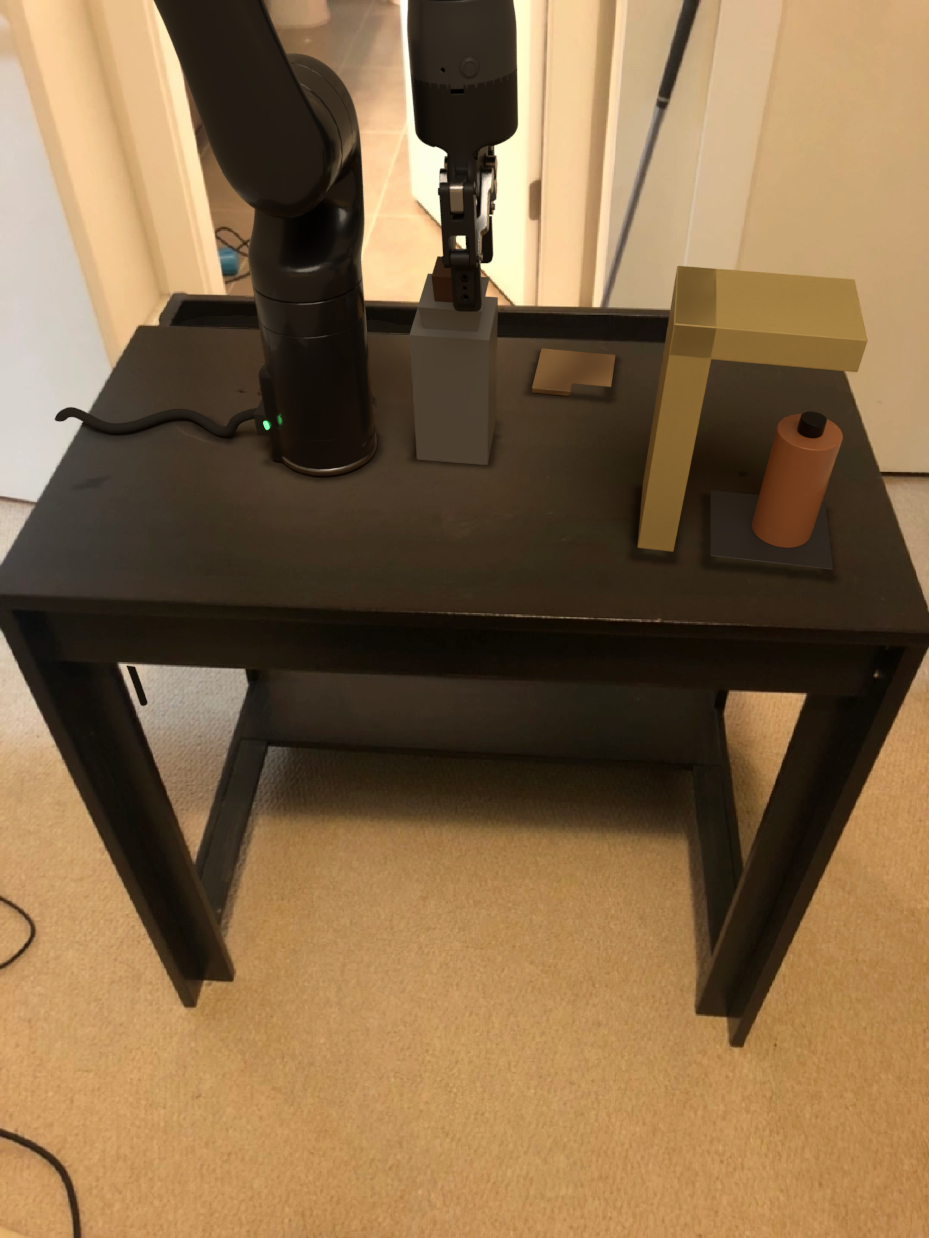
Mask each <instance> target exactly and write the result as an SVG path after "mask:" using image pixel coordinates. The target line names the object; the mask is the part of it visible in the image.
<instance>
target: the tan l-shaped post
mask: <svg viewBox="0 0 929 1238" xmlns="http://www.w3.org/2000/svg"><path fill="white" fill-rule="evenodd" d="M675 271H676V272H675V278H674V284H673V290H672V296H671V303H670V309H669V315H668V320H667V321H668V322H667V329H666V335H665V340H664V347H663V353H662V358H661V359H662V360H661V367H660V373H659V378H658V379H659V380H658V385H657V391H656V396H655V397H656V398H655V404H654V409H653V410H654V411H653V418H652V423H651V428H650V430H651V431H650V436H649V441H648V449H647V456H646V460H645V466H644V467H645V468H644V473H643V474H644V475H643V481H642V489H641V502H640V513H639V524H638V525H639V526H638V538H637V548H639V549H646V550H654V551H655V550H656V551H664V552H674V551H675V546H676V540H677V536H678V532H679V531H678V530H679V527H680V525H679V524H680V520H681V516H682V510H683V505H684V501H685V500H684V499H685V495H686V490H687V484H688V480H689V475H690V470H691V466H692V465H691V464H692V459H693V454H694V450H695V445H696V438H697V435H698V429H699V424H700V419H701V414H702V409H703V403H704V398H705V392H706V389H707V384H708V378H709V373H710V368H711V363H712V361H713V360H714V361H726V362H737V363H748V364H759V365H760V364H761V365H771V366H781V367H794V368H804V369H805V368H806V369H814V370H815V369H817V370H826V371H838V372H849V373H858V372H859V369H860V367H861V363H862V359H863V356H864V354H865V350H866V347H867V344H868V336H867V330H866V326H865V321H864V317H863V313H862V307H861V304H860V297H859V294H858V289H857V285H856V280H855V279H853V278H840V277H829V276H828V277H827V276H815V275H804V274H803V275H802V274H791V273H790V274H788V273H777V272H766V271H765V272H763V271H752V270H751V271H750V270H736V269H725V268H724V269H723V268H711V267H701V266H685V265H677V266H676V270H675ZM709 493H710V495H709V496H710V498H709V499H710V503H709V504H710V505H709V506H710V509H709V512H710V513H709V531H710V532H709V556H711V557H719V558H727V559H736V560H745V561H753V562H761V563H770V564H777V565H778V564H780V565H788V566H789V565H790V566H797V567H805V568H814V569H824V570H831V571H832V570H834V563H833V557H832V549H831V548H832V547H831V540H830V532H829V524H828V516H827V515H828V514H827V509H826V501H822V504H821V507H820V510H819V513H818V516H817V519H816V522H815V525H814V528H813V532H812V535H811V537H810V539H809V540H808V541H807V542H806V543H805V544H803V545H801V546H798V547H793V548H782V547H777V546H773V545H770V544H768V543H766V542H764V541H762V540H761V539H760V538H758V537H757V536H756V534H755V533H754V531H753V529H752V520H753V516H754V513H755V509H756V505H757V501H758V498H759V494H751V493H743V492H734V491H723V490H715V489H711V490H710V492H709Z"/></svg>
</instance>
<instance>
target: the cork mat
mask: <svg viewBox="0 0 929 1238" xmlns="http://www.w3.org/2000/svg"><path fill="white" fill-rule="evenodd" d="M615 362H616V354H610V353H598V352H587V351H577V350H576V351H575V350H565V349H553V348H541V349H540V352H539V357H538V362H537V364H536V368H535V369H536V370H535V374H534V376H533V377H534V378H533V381H532V386H531V393H532V394H543V395H554V396H562V397H563V396H565V397H571V391H572V386H573V384H576V385H587V386H597V387H607V388H612V384H613V377H614V372H615V371H614V370H615Z"/></svg>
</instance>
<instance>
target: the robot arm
mask: <svg viewBox="0 0 929 1238" xmlns="http://www.w3.org/2000/svg"><path fill="white" fill-rule="evenodd" d="M153 3H154V4H155V7H156V10H157V11H158V14H159V15H160V17H161V20H162V22H163V24H164V27H165V29H166V32H167V34H168V36H169V39H170V42H171V43H172V47H173V50H174V53H175V54H176V57H177V60H178V62H179V65H180V67H181V70H182V73H183V76H184V78H185V81H186V84H187V87H188V89H189V92H190V95H191V98H192V100H193V103H194V105H195V109H196V111H197V114H198V117H199V119H200V123H201V125H202V128H203V130H204V132H205V133H204V134H205V136H206V139H207V141H208V143H209V147H210V149H211V151H212V154H213V156H214V159H215V161H216V164H217V165H218V168H219V169H220V172H221V173H222V175H223V177H224V179H225V180H226V182H227V184H229V186H230V187H231V188H232V190H233V191H234V192H235V194H236V195H238V196H239V198H240V199H242V200H243V202H245V203H246V204H247V205H248V206H250V207H251V208H253V210H254V212H253V223H252V229H251V234H250V238H249V244H248V249H247V261H248V269H249V276H250V281H251V286H252V291H253V292H252V293H253V297H254V298H253V299H254V304H255V310H256V316H257V322H258V328H259V335H260V339H261V340H260V341H261V346H262V352H263V353H262V354H263V359H264V361H263V363H262V364H261V366H260V368H259V369H258V373H257V377H258V384H259V389H260V395H261V400H260V402H259V404H258V405H257V407H254V408H250V409H246V410H242V411H240V412H238V413H236V414H233V416H231V417H230V418H229V421H228V422H227V424H226V425H225V426H222V425H221V426H220V425H218V424H216V423H215V422H213V421H212V420H211V419H209V417H207V416H205V415H204V414H202V413H200V412H198V411H195V410H191V409H187V408H172V409H166V410H162V411H159V412H156V413H155V412H154V413H153V414H150V415H146V416H144V417H142V418H139V419H135V420H132V421H131V420H130V421H128V422H127V421H126V422H109V421H105V420H102V419H100V418H98V417H96V416H94V415H92V414H90V413H88V411H87V412H86V411H85V410H83V409H80V408H77V407H73V406H68V407H65V408H63V409H61V410H59V411H58V412H57V413H56V414H55V417H54V421H56V422H59V423H60V422H66V421H67V420H68V419H69V418H74V419H77V420H79V421H81V422H83V423H84V424H86V425H88V426H90V427H92V428H94V429H96V430H99V431H102V432H105V433H110V434H127V433H132V432H136V431H140V430H143V429H146V428H149V427H152V426H154V425H157V424H161V423H163V422H166V421H171V420H181V419H183V420H190V421H192V422H195V423H196V424H198V425H200V426H201V427H202V428H203V429H205V430H206V431H207V432H209V433H210V434H212V435H215V436H216V437H221V438H227V437H231V436H232V435H234V434H236V432H237V429H238V428H239V426H240V425H241V424H243V423H245V422H247V421H251V420H254V423H255V424H254V425H255V430H256V435H257V436H265V437H268V440H269V447H270V452H271V458H272V461H273V462H280V463H283V464H284V465H286V466H287V467H288V468H289V469H292V470H293V471H295V472H297V473H300V474H304V475H307V476H308V475H309V476H315V477H331V476H338V475H342V474H346V473H349V472H352V471H355V470H357V469H359V468H361V467H362V466H364V465H365V464H366V463H368V462H369V461H370V460H372V458H373V456H374V455H375V453H376V452H377V448H378V447H377V446H378V440H377V439H378V438H377V434H376V423H375V415H374V407H375V408H377V398H376V397H375V396H374V395H373V388H372V377H371V376H372V375H371V364H370V363H371V362H370V352H369V351H370V350H369V339H368V329H367V328H368V326H367V325H368V324H367V315H366V314H367V313H366V302H365V290H364V277H363V266H362V251H363V244H364V238H365V237H364V235H365V223H366V222H365V217H366V215H365V198H364V197H365V195H364V176H363V155H362V154H363V153H362V141H361V139H362V138H361V129H360V123H359V118H358V113H357V109H356V106H355V103H354V100H353V98H352V95H351V93H350V91H349V89H348V87H347V86H346V84H345V82H344V81H343V80H342V78H341V77H340V76H339V75H338V74H337V73H336V72H335V71H334V69H332V68H331V67H330V66H329V65H327V64H326V63H325V62H323V61H321V60H320V59H318V58H315V57H313V56H310V55H308V54H303V53H296V52H289V53H286V50H285V48H284V45H283V43H282V41H281V39H280V36H279V34H278V31H277V29H276V27H275V24H274V21H273V19H272V17H271V15H270V12H269V9H268V7H267V4H266V1H265V0H153ZM406 15H407V16H406V37H407V50H408V61H409V62H408V64H409V73H410V84H411V98H412V109H413V110H412V111H413V120H414V121H413V122H414V133H415V136H416V137H417V138H418V140H419V141H420V142H422V144H424V145H426V146H429V147H431V148H438V149H440V150H441V151H443V152H445V153H446V155H444V159H443V167H441V168H439V175H438V188H437V195H438V197H439V212H440V213H439V215H440V229H441V246H442V249H441V250H442V263H443V264H444V268H451V280H452V295H453V307H454V309H455V310H456V311H459V312H477V311H479V310H480V309H481V306H482V284H481V277H482V265H481V264H490V263H492V261H493V259H494V234H493V232H494V231H493V229H494V228H493V215H494V214H495V213H494V212H495V211H496V203H495V201H497V197H498V196H497V195H498V165H499V161H498V155H497V154H496V155H495V146H498V145H500V144H503V143H505V142H507V141H508V140H510V139H511V138H512V137H513V136H514V135H515V134H516V133H517V130H518V127H519V91H518V87H519V85H518V84H519V83H518V31H517V29H518V28H517V15H516V9H515V2H514V0H407V14H406ZM457 237H464V238H465V248H456V247H457ZM126 669H127V671H128V672H127V673H128V674H129V677H130V680H131V682H132V685H133V688H134V691H135V694H136V697H137V700H138V702H139V705H140V706H141V707H146V706H147V705H148V703H149V702H148V699H147V696H146V693H145V690H144V688H143V685H142V682H141V679H140V676H139V673H138V671H137V667H136V666H135V665H134V666H133V665H126Z"/></svg>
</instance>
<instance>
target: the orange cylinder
mask: <svg viewBox="0 0 929 1238" xmlns="http://www.w3.org/2000/svg"><path fill="white" fill-rule="evenodd" d="M773 437H774V438H773V442H772V445H771V449H770V453H769V457H768V460H767V464H766V468H765V472H764V474H763V479H762V481H761V482H762V483H761V486H760V491H759V494H758V495H759V498H758V501H757V505H756V509H755V513H754V516H753V520H752V529H753V531H754V533H755V534H756V536H757V537H758V538H760V539H761V540H762V541H764V542H766V543H768V544H770V545H773V546H777V547H782V548H793V547H798V546H801V545H803V544H805V543H806V542H807V541H808V540H809V539H810V537H811V535H812V532H813V528H814V525H815V522H816V519H817V516H818V513H819V510H820V507H821V504H822V502H824V497H825V495H826V491H827V488H828V486H829V482H830V480H831V476H832V473H833V470H834V467H835V464H836V460H837V457H838V454H839V452H840V448H841V445H842V442H843V439H844V437H843V432H842V430H841V428H840V427H839V426H838V424H836V423H834V422H833V421H831V419H830V420H829V419H828V418H827V416H825V415H824V414H822V413H821V412H818V411H812V410H811V411H809V410H808V411H804V412H802V413H796V414H790V415H788V416H786V417H783V418H782V419H781V420H780V421H779V422H778V423H777V427H776V430H775V434H774V436H773Z"/></svg>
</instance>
